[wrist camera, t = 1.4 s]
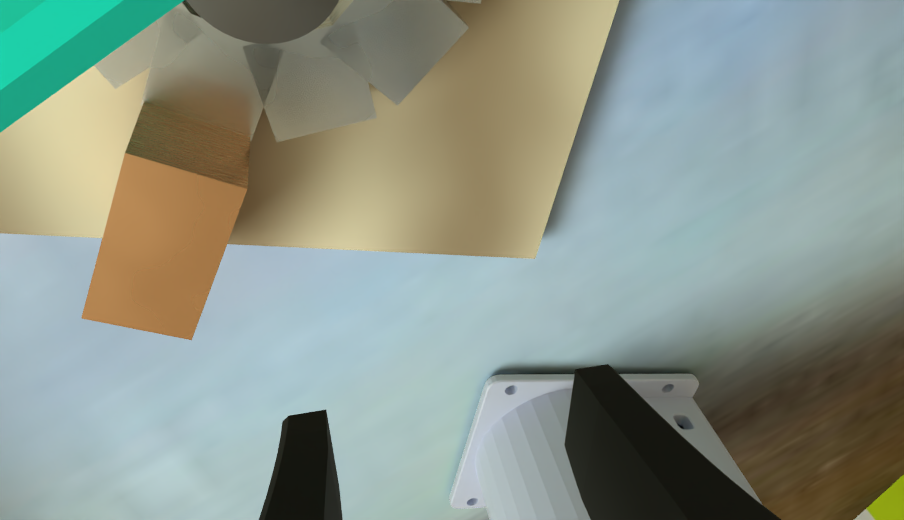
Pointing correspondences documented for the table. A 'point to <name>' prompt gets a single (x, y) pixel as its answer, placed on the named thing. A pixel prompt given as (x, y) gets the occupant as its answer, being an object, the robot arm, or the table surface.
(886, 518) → the puzzle toy
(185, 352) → the table surface
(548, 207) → the board
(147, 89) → the flange
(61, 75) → the table top decor
